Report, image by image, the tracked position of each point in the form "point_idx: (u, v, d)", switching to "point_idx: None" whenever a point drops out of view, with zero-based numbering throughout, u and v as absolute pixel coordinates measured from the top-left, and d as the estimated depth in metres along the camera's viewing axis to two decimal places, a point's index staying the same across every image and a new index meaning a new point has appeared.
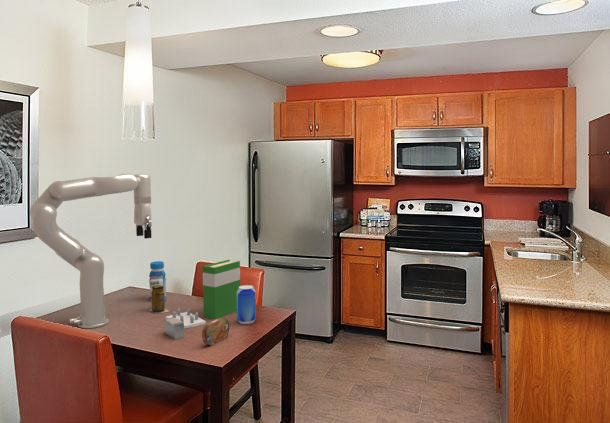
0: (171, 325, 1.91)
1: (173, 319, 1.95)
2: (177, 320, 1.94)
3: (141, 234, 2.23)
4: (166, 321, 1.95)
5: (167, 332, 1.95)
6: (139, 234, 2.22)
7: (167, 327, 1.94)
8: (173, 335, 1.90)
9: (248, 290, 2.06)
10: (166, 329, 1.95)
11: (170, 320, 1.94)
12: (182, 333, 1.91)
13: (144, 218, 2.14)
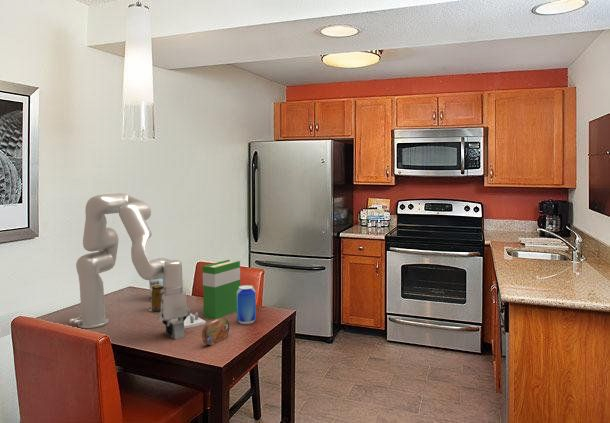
0: (171, 325, 1.91)
1: (173, 319, 1.95)
2: (177, 320, 1.94)
3: None
4: None
5: None
6: None
7: None
8: (173, 334, 1.90)
9: (248, 290, 2.06)
10: None
11: None
12: (182, 333, 1.91)
13: None
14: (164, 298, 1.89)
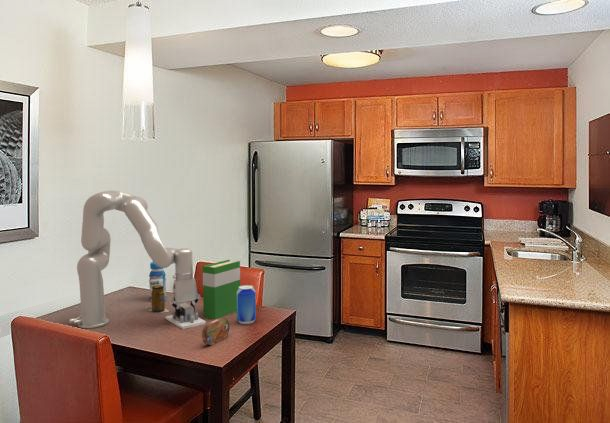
0: (182, 309, 2.08)
1: (184, 304, 2.12)
2: (187, 305, 2.10)
3: None
4: None
5: None
6: None
7: None
8: None
9: (248, 290, 2.06)
10: None
11: (181, 305, 2.10)
12: None
13: None
14: (176, 283, 2.05)
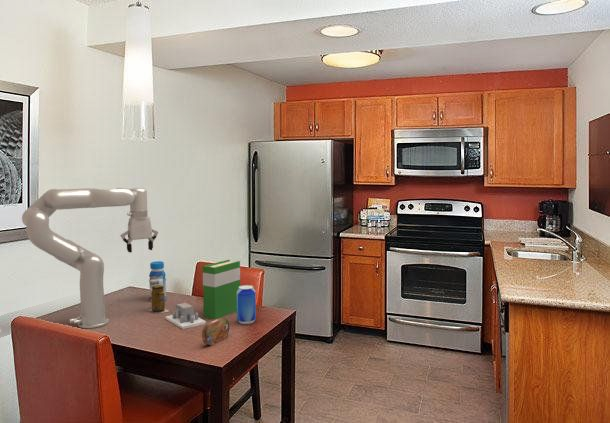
0: (182, 309, 2.08)
1: (184, 304, 2.12)
2: (187, 305, 2.10)
3: None
4: (177, 306, 2.11)
5: (178, 316, 2.11)
6: None
7: (178, 311, 2.11)
8: None
9: (248, 290, 2.06)
10: (177, 313, 2.12)
11: (181, 305, 2.10)
12: None
13: None
14: (130, 220, 2.13)
